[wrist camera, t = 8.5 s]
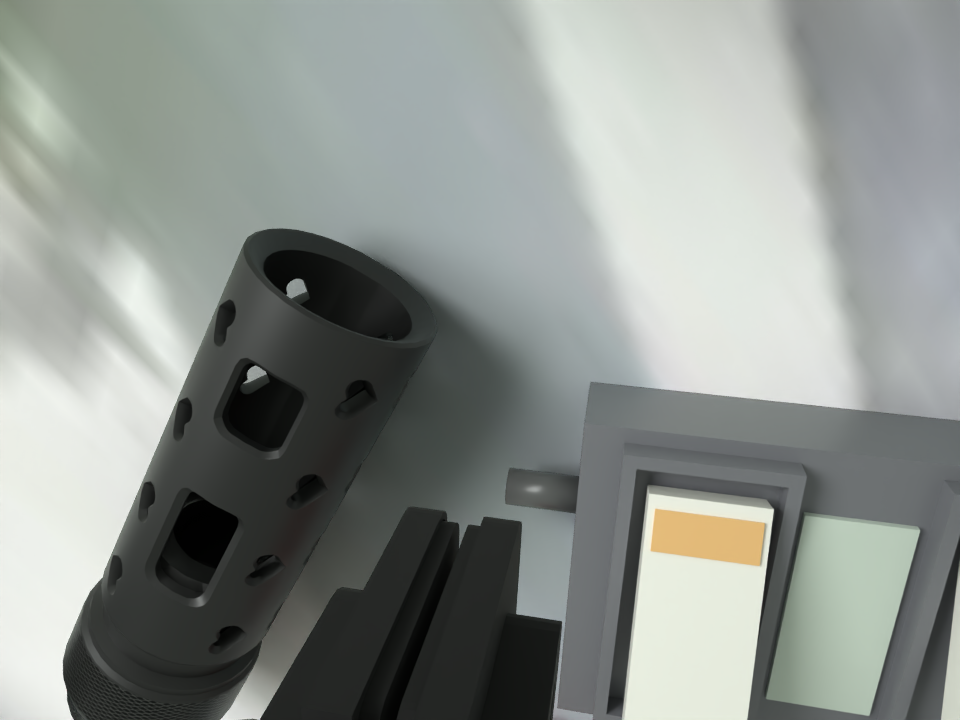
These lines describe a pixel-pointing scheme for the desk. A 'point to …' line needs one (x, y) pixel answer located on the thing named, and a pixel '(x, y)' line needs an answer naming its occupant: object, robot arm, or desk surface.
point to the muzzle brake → (245, 477)
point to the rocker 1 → (697, 605)
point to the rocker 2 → (953, 665)
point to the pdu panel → (772, 545)
